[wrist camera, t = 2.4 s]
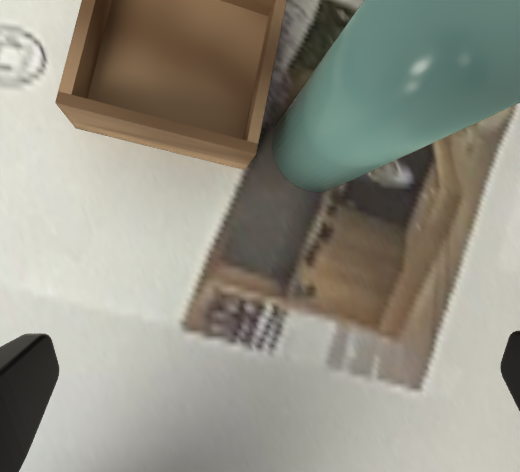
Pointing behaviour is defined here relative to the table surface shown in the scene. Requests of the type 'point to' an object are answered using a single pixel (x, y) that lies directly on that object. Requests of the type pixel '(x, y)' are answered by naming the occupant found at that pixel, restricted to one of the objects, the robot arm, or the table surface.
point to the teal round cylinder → (399, 86)
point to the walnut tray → (174, 74)
